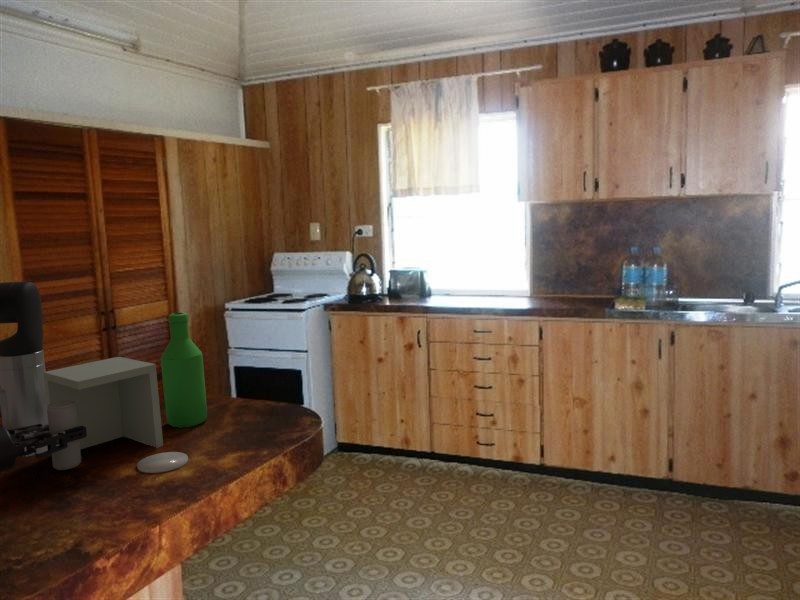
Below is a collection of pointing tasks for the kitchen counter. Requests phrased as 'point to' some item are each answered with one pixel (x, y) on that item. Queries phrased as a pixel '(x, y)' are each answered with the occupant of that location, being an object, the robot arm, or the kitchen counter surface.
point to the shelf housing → (110, 399)
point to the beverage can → (60, 419)
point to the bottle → (183, 376)
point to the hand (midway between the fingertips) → (78, 428)
